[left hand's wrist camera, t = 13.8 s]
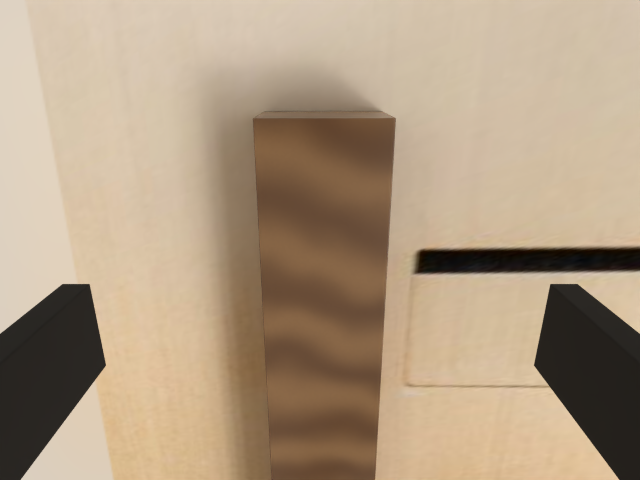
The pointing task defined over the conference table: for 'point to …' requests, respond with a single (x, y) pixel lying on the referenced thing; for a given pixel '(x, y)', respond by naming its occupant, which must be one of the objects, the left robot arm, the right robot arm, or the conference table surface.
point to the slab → (323, 286)
